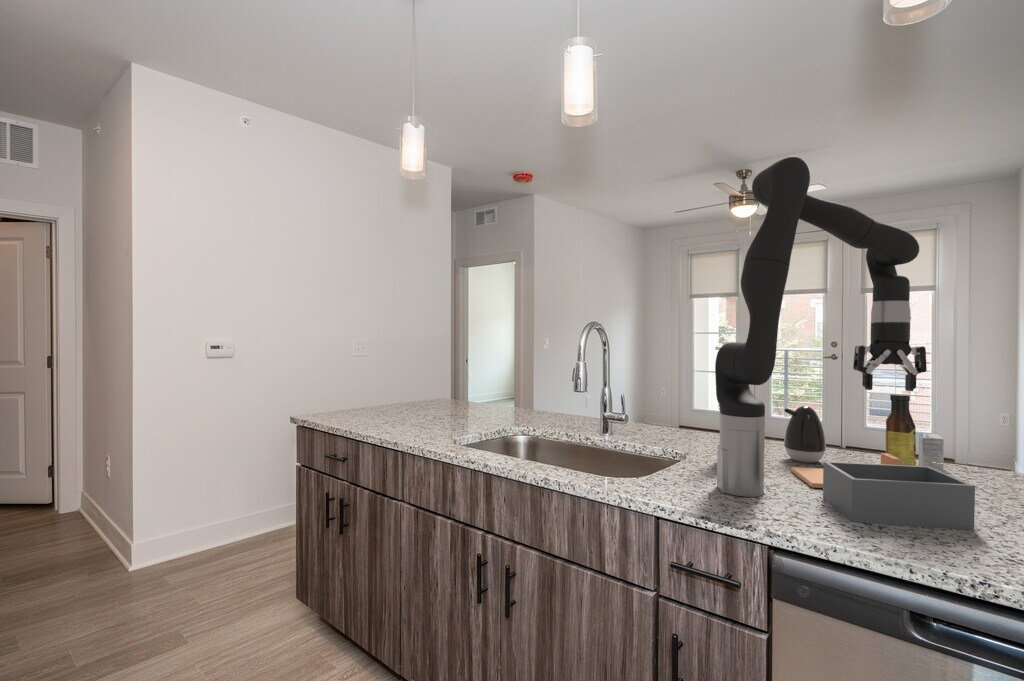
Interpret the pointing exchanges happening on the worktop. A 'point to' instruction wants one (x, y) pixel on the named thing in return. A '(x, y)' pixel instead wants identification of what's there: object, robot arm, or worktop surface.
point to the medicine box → (931, 451)
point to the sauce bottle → (901, 431)
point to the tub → (899, 495)
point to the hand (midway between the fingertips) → (888, 390)
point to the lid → (816, 474)
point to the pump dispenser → (804, 436)
